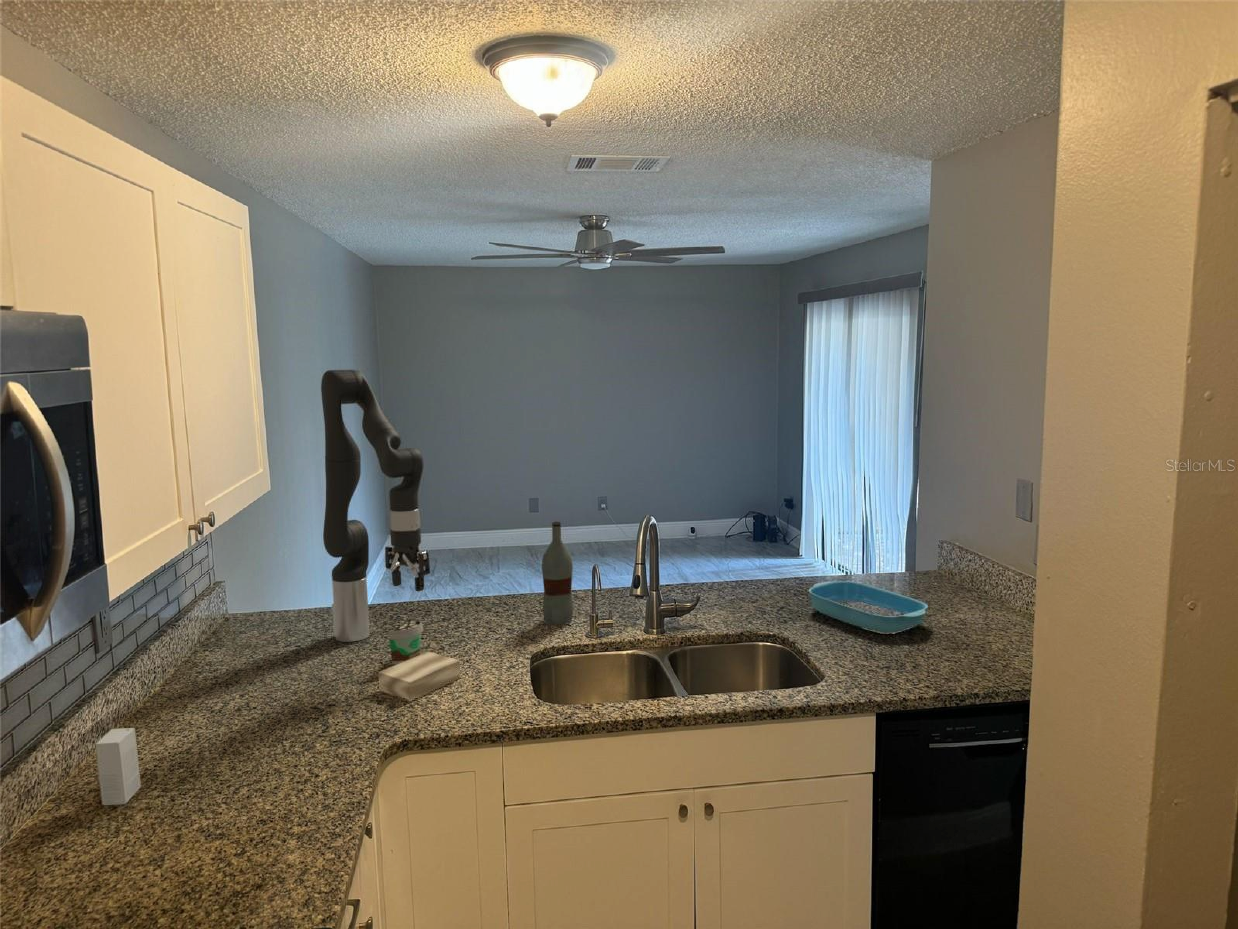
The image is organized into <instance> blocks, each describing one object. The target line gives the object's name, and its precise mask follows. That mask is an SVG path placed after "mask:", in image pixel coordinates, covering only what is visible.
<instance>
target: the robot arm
mask: <svg viewBox="0 0 1238 929" xmlns="http://www.w3.org/2000/svg"><path fill="white" fill-rule="evenodd" d="M320 385H321V386H320V391H321V394H320V395H321V401H322V413H323V420H324V421H323V422H324V440H325V441H324V468H325V469H324V470H325V510H324V511H325V512H324V522H323V533H322V539H323V545H324V548H325V551H326V553H327V554H328V555H329V556H331V557H332V558H335V559H338V558H340V560H339V562H338V563H337V564H336V565H335V566H334V567H333V568H332V570H331V583H332V584H331V585H332V600H333V603H332V604H331V615H332V616H331V617H332V630H333V631H332V632H333V633H332V634H333V637H335V640H336V641H338V642H342V643H344V642H345V643H350V642H351V643H352V642H357V641H363V640H365V639H367V638H368V637H369V636H370V618H369V598H368V596H369V595H368V581H367V578H368V577H367V571H368V568H369V562H370V560H369V559H370V558H369V557H370V556H369V554H370V549H369V548H370V542H369V540H370V539H369V534H368V530H367V529H368V528H366V525H365V524H364V523H363V522H362V521H360V520H357V519H350V520H349V519H348V517H349V515H348V514H349V507H350V505H351V504H350V503H351V501H352V499H353V496H354V493H355V492H356V489H357V487H358V486H359V483H360V479H361V478H360V477H361V474H362V472H361V466H362V465H361V462H362V459H361V458H362V457H361V451H360V448H359V445H358V444H357V443H356V441H355V440H354V438H353V436H352V435H351V433H350V432H349V430H348V428H347V427H346V425H345V422H344V418H343V414H342V413H343V412H342V405H351V404H356V405H357V406H359V407H360V408H361V409H362V412H363V413H362V414H363V415H362V416H363V417H362V422H361V426H362V427H361V428H362V431H363V434H364V436H365V438H366V440H367V441H368V442H369V444H370V445H371V446H372V448H373V449H374V451H375V454H376V457H377V460H378V463H379V467H380V470H381V472H382V473H383V474H384V475H385V476H386V477H388V478H392V479H397V478H402V481H401V483H399V484H398V485H395V486H393V487H391V488H390V489H389V531H390V545H386V546H385V547H384V553H385V554H384V555H385V556H384V557H385V559H384V560H385V562H384V563H385V564H384V567H385V569H387V570H388V569H389V571H390V572H391V581H392V585H393V587H398V586H401V584H402V571H401V569H402V567H403V566H405V567H407V568H409V570H410V571H412V572H413V575H414V576H415V577H414V586H415V587H414V590H415V591H416V592H421V591H424V589H425V576H427V575H429V574H431V568H430V557H429V556H430V555H429V551H427V550H424V551H421V550H420V548H419V546H420V545H421V543H422V533H421V532H422V530H421V516H420V515H421V514H420V509H419V488H420V485H421V480H422V476H423V475H422V474H423V471H424V457H423V455H422V453H421V452H420V451H419V449H417V448H415V447H407V448H400V447H401V443H402V439H401V437H400V435H399V434H398V432H397V430H396V429H395V428H394V427H393V425H392V424H391V423H390V421H389V420H388V419H387V417H386V416H385V414H384V413H383V411H382V408H381V406H380V404H379V401H378V400H377V397H376V395H375V394H374V392H373V390H372V387H371V385H370V384H369V381H368V380H367V377H366V376H365V375H364V374H363V373H362V372H361V371H360V370H357V369H329V370H328V369H327V370H326V371H325V372H324V373H323V375H322V377H321V382H320Z"/></svg>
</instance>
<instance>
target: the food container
mask: <svg viewBox="0 0 1238 929" xmlns="http://www.w3.org/2000/svg"><path fill="white" fill-rule="evenodd" d="M423 631H424V626H423V623H422V622H421V619H419V618H417V617H414V616H408V618H407V620H406V621H405V622H404V623H402V624H400V625H398V626H397V628H395V630H389V631H388V634H387V636H388V637H387V638H388V640H389V646H390V657H391V667H392V666H395V665H397V664H399V663H402V662H404V661H407V660H409V659H412V658H414V657H416V656H419V655H421V638H422V637H421V633H422V632H423Z"/></svg>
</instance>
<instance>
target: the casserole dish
mask: <svg viewBox="0 0 1238 929" xmlns="http://www.w3.org/2000/svg"><path fill="white" fill-rule="evenodd" d="M808 593H809V596H810V597H809V598H810V600H811V604H812V606H813V608H814V609H815V610H816V611H817V612H818V611H819V612H820V613H819V612H818V613H819V614H821V613H823V614H826V615H828V616H832V617H834V618H836V619H840V620H842V621H845V622H847V623H851V624H854V625H856V626H861V627H864V628H867V629H869V630H875V631H880V632H896V631H900V630H904V629H907V628H909V627H912V626H916V625H918V624H919V625H921V624H922V622H923V620H924V617H925V616H926V615H927V611H928V609H929V606H928V604H927V603H925V602H923V601H920V600H918V599H915V598H912V597H909V596H906V595H903V594H899V593H896V592H892V591H889V590H886V589H882V588H879V587H877V586H873V585H870V584H866V583H862V582H858V581H851V580H850V581H849V580H841V581H839V580H837V581H821V582H817V583H815V584H813V586H812V587H810V588H809V589H808ZM837 602H863V603H867V604H869V605H873V606H880V607H883V608H887V609H893V610H895V611H897V612H900V613H903V614H904V615H899V616H881V615H876V614H871V613H868V612H864V611H861V610H858V609H855V608H852V607H849V606H846V605H843V604H840V603H837ZM823 614H822V615H823ZM828 616H827V617H828ZM847 623H846V624H847ZM919 625H918V626H919Z"/></svg>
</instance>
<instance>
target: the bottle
mask: <svg viewBox="0 0 1238 929" xmlns="http://www.w3.org/2000/svg"><path fill="white" fill-rule="evenodd" d="M551 524H552V525H551V528H552V530H551V532H552V533H551V535H552V536H551V538H552V539H551V542H550V544H549V545H548V547H547V549H546V550H545V552H544V553H543V556H542V560H541V561H542V562H541V574H542V581H543V598H542V614H543V620H544V623H545V624H546V623H547V624H546V625H549V624H550V625H549V626H554V625H559V626H564V625H563V624H566V623H569V624H571V623H572V620H573V616H574V602H573V596H572V595H573V594H572V586H573V585H572V584H573V570H574V565H573V559H572V555H571V552H570V551H569V549H568V548H567V547H566V545H565V544H564V542H563V541H562V526H561V525H562V522H560V521H552V523H551ZM566 625H567V624H566Z"/></svg>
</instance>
